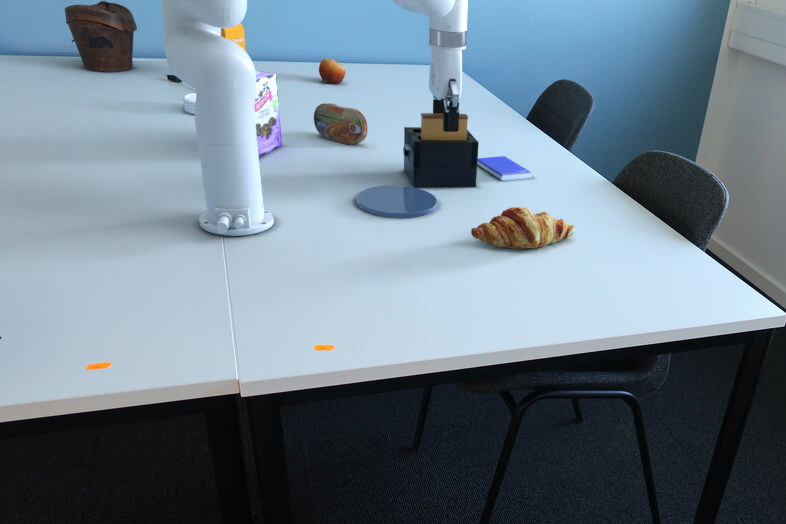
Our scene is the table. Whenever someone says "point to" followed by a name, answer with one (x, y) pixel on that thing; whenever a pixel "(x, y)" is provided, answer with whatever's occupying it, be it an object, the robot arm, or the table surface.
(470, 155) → the toaster
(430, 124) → the toast
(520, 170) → the blue book
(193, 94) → the white round container
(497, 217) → the croissant
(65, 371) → the table surface
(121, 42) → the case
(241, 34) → the orange juice
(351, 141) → the tin
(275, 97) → the candy box
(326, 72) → the fruit
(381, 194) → the plate
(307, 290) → the table surface
